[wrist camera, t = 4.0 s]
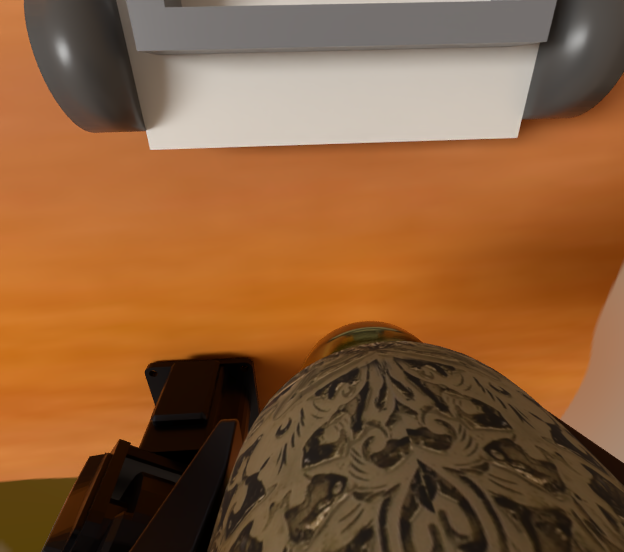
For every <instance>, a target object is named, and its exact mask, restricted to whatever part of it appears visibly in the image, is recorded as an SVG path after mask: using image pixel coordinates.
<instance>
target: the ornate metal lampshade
mask: <svg viewBox="0 0 624 552" xmlns="http://www.w3.org/2000/svg"><path fill="white" fill-rule="evenodd" d="M207 552H624V486H623V485H622V484H621V483H620V482H619V481H618V480H617V479H616V478H615V477H614V475H613V474H612V473H611V472H610V471H609V470H608V469H607V468H606V467H605V466H604V465H603V464H602V463H601V462H600V461H599V460H598V459H597V458H596V457H595V456H594V455H593V454H592V453H591V452H590V451H589V450H588V449H587V448H586V447H585V446H584V445H583V444H581V443H580V442H579V441H578V440H577V439H576V438H575V437H574V436H573V435H572V434H571V433H570V432H569V431H568V430H567V429H566V428H565V427H564V426H563V425H562V424H561V423H560V422H559V421H557V420H556V419H555V418H554V417H553V416H552V415H551V414H550V413H549V412H547V411H546V410H545V409H544V408H543V407H542V406H541V405H540V404H538V403H537V402H536V401H535V400H534V399H533V398H532V397H531V396H529V395H528V394H527V393H526V392H525V391H523V390H522V389H521V388H519V387H518V386H517V385H515V384H514V383H513V382H511V381H510V380H509V379H508V378H506V377H505V376H503V375H502V374H500V373H499V372H497V371H495V370H494V369H492V368H490V367H488V366H487V365H485V364H483V363H481V362H479V361H477V360H475V359H473V358H471V357H469V356H467V355H465V354H462V353H459V352H456V351H453V350H450V349H447V348H443V347H440V346H435V345H431V344H426V343H423V342H422V341H420V340H419V339H418V338H417V337H415V336H414V335H412V334H411V333H409V332H407V331H406V330H404V329H402V328H400V327H398V326H395V325H392V324H389V323H384V322H377V321H364V322H356V323H352V324H348V325H345V326H342V327H340V328H338V329H336V330H334V331H332V332H330V333H329V334H327V335H326V336H325V337H323V338H322V339H321V340H320V341H319V342H318V343H317V344H316V345H315V346H314V347H313V349H312V350H311V352H310V353H309V355H308V356H307V358H306V360H305V362H304V364H303V366H302V368H301V371H300V372H299V373H297V374H296V375H295V376H294V377H293V378H291V379H290V380H289V381H288V382H287V383H286V384H285V385H284V386H283V387H281V388H280V389H279V390H278V391H277V393H276V394H275V395H274V396H273V397H272V398H271V399H270V400H269V402H268V403H267V404H266V406H265V407H264V409H263V410H262V411H261V413H260V414H259V416H258V417H257V419H256V420H255V422H254V423H253V425H252V427H251V429H250V431H249V433H248V435H247V437H246V439H245V441H244V444H243V446H242V448H241V450H240V452H239V455H238V457H237V459H236V462H235V465H234V468H233V471H232V473H231V476H230V479H229V482H228V485H227V488H226V491H225V494H224V497H223V500H222V504H221V507H220V510H219V513H218V516H217V520H216V523H215V526H214V529H213V533H212V536H211V540H210V543H209V547H208V550H207Z"/></svg>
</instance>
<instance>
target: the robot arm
mask: <svg viewBox="0 0 624 552" xmlns="http://www.w3.org/2000/svg"><path fill="white" fill-rule="evenodd" d="M243 366H247V367H243ZM152 370H153V371H152ZM154 371H156V372H154ZM145 376H146V379H147V382H148V385H149V388H150V391H151V394H152V397H153V400H154V403H155V408H154V411H153V413H152V416H151V419H150V422H149V424H148V427H147V429H146V432H145V434H144V436H143V439H142V441H141V444H140V446H139V448H138V447H135V446H132V445H130V444H131V443H130V442H127V441H124V440H121V439H119V441H118V442H117V444H116V445H115V447H114V448H113V450H112V451H111V453H105V454H102V455H96V456H90V457H89V459H88V460H87V462H86V463H85V465H84V467H83V469H82V471H81V473H80V475H79V477H78V478H77V481H76V482H75V484H74V486H73V488H72V490H71V492H70V494H69V495H68V497H67V499H66V501H65V504H64V505H63V507H62V509H61V511H60V513H59V516H58V518H57V520H56V522H55V524H54V526H53V528H52V530H51V532H50V534H49V537H48V539H47V541H46V543H45V545H44V547H43V549H42V552H207V550H208V547H209V543H210V540H211V536H212V533H213V529H214V526H215V523H216V520H217V516H218V513H219V510H220V507H221V504H222V500H223V497H224V494H225V491H226V488H227V485H228V482H229V479H230V476H231V473H232V471H233V468H234V465H235V462H236V459H237V457H238V455H239V452H240V450H241V448H242V446H243V444H244V441H245V439H246V437H247V435H248V433H249V431H250V429H251V427H252V425H253V423H254V422H255V420H256V419H257V417H258V416H259V414H260V409H259V401H258V394H257V386H256V379H255V371H254V364H253V361H252V360H251V359H248V358H235V359H216V360H197V361H178V362H159V363H150V364H149V365H148V366H147V368H146V370H145ZM546 411H547V410H546ZM547 412H548V411H547ZM549 413H550V412H549ZM550 414H551V413H550ZM551 415H552V416H553V417H554V418H555V419H556V420H557V421H559V422H560V423H561V424H562V425H563V426H564V427H565V428H566V429H567V430H568V431H569V432H570V433H571V434H572V435H573V436H574V437H575V438H576V439H577V440H578V441H579V442H580V443H581V444H583V445H584V446H585V447H586V448H587V449H588V450H589V451H590V452H591V453H592V454H593V455H594V456H595V457H596V458H597V459H598V460H599V461H600V462H601V463H602V464H603V465H604V466H605V467H606V468H607V469H608V470H609V471H610V472H611V473H612V474H613V475H614V477H615V478H616V479H617V480H618V481H619V482H620V483H621V484H622V485H623V486H624V463H623V462H621V461H620V460H618V459H617V458H615V457H614V456H612V455H611V454H609V453H608V452H607V451H605V450H604V449H602V448H601V447H599V446H598V445H596V444H595V443H593V442H592V441H591V440H589V439H588V438H586V437H585V436H583V435H582V434H580V433H579V432H577V431H576V430H575V429H573V428H572V427H570V426H569V425H567V424H566V423H564V422H563V421H561V420H560V419H559V418H557V417H556V416H554V415H553V414H551Z"/></svg>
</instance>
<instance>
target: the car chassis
mask: <svg viewBox="0 0 624 552" xmlns="http://www.w3.org/2000/svg"><path fill="white" fill-rule="evenodd" d="M24 11H25V20H26V26H27V31H28V35H29V40H30V43H31V47H32V50H33V53H34V56H35V59H36V62H37V64H38V67H39V69H40V71H41V74H42V76H43V78H44V80H45V82H46V84H47V86H48V88H49V90H50V92H51V93H52V95H53V97H54V98H55V100H56V101H57V103H58V104H59V106H60V107H61V109H62V110H63V111H64V112H65V114H66V115H67V116H68V117H69V118H70V119H71V120H72V121H73V122H74V123H75V124H76V125H78V126H79V127H80V128H82V129H84V130H86V131H88V132H93V133H100V132H133V131H146V133H147V137H148V142H149V146H150V150H159V149H189V148H220V147H251V146H281V145H312V144H343V143H373V142H404V141H435V140H465V139H496V138H517V137H518V133H519V129H520V125H521V120H522V119H555V118H572V117H576V116H579V115H581V114H583V113H585V112H587V111H588V110H590V109H591V108H593V107H594V106H595V105H596V104H598V103H599V102H600V101H601V100H602V99H603V98H604V97H605V96H606V95H607V94H608V93H609V92H610V90H611V89H612V88H613V87H614V85H615V84H616V83H617V81H618V80H619V78H620V77H621V75H622V74H623V72H624V0H24Z"/></svg>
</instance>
